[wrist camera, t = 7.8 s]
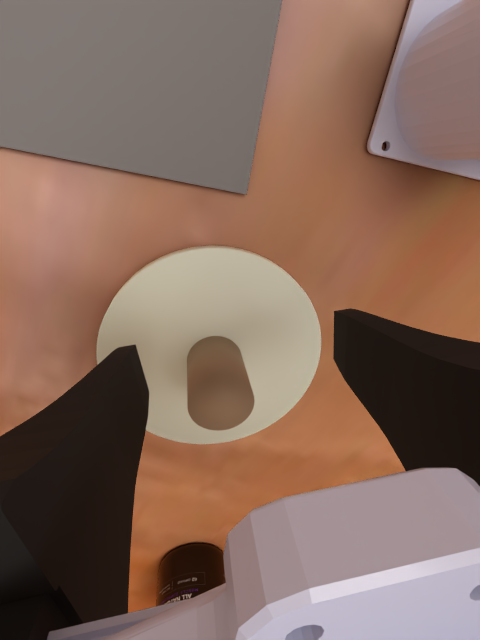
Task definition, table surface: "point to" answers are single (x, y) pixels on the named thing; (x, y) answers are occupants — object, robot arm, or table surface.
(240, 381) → the lid
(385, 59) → the table surface
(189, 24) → the mat
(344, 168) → the table surface
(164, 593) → the supplement bottle
